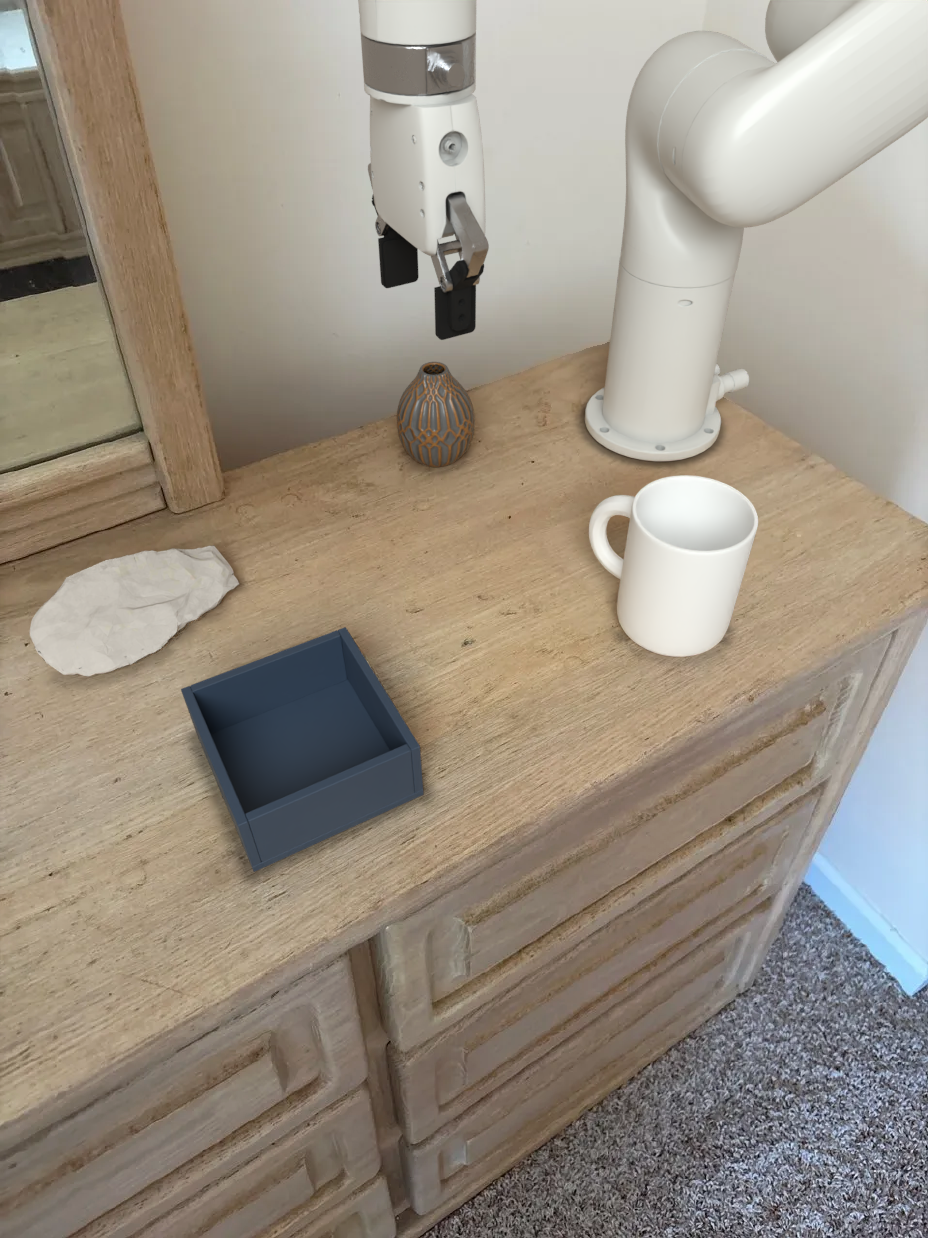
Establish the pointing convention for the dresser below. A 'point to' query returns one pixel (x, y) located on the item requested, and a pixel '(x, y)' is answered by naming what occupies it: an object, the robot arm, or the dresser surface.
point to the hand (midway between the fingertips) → (426, 307)
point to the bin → (304, 745)
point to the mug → (677, 561)
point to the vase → (435, 417)
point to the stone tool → (127, 608)
